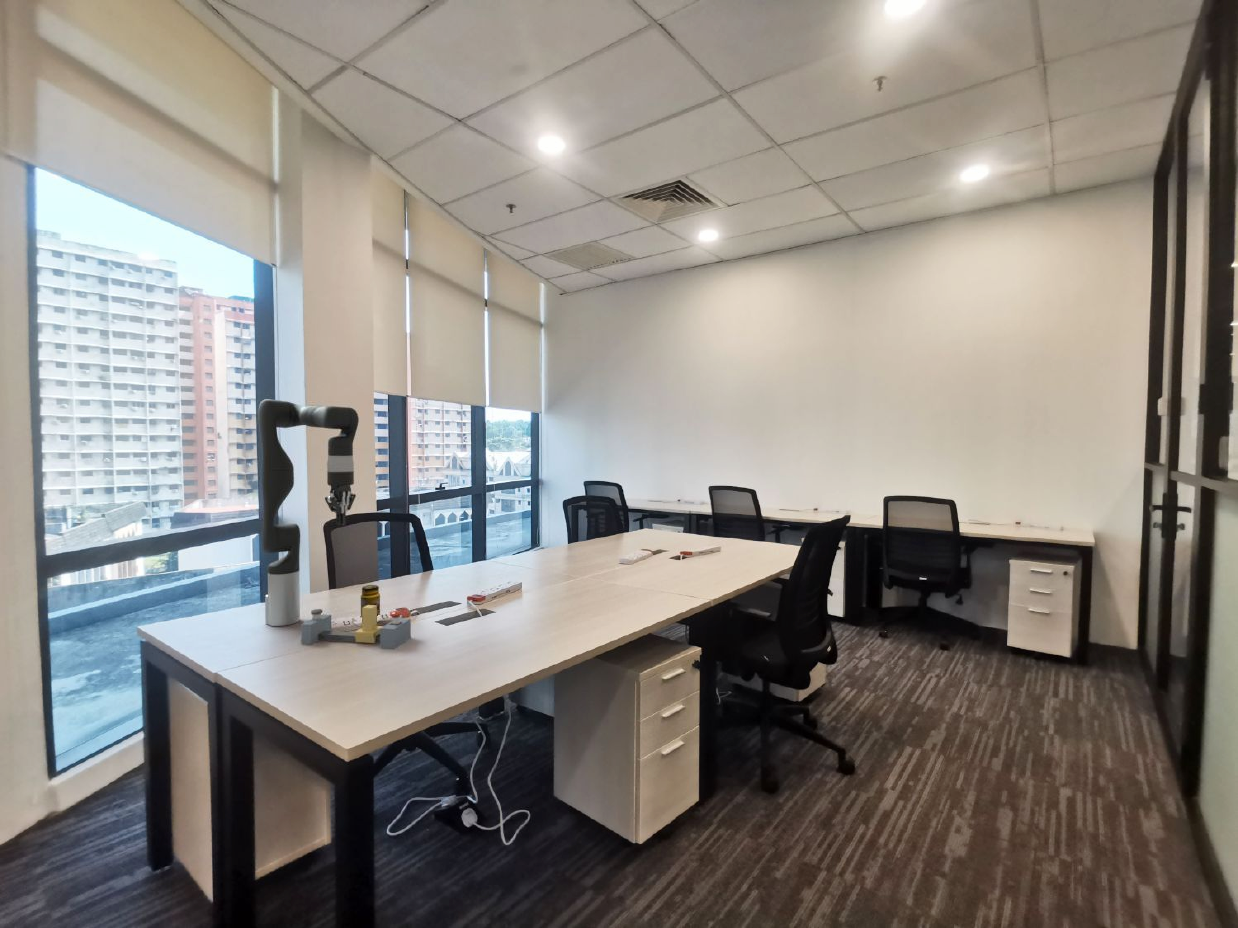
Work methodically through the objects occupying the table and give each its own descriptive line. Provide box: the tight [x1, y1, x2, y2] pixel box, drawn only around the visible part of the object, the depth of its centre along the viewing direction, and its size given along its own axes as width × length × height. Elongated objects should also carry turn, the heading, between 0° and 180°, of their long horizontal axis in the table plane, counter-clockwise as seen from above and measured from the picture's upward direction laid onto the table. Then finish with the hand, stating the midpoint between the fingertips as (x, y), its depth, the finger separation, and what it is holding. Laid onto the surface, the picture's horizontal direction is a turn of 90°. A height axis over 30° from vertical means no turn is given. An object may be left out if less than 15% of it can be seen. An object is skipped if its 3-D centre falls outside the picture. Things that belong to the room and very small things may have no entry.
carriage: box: [354, 605, 383, 644], centre depth 172 cm, size 6×6×10 cm
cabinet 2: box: [379, 617, 412, 650], centre depth 171 cm, size 4×10×6 cm, turn 173°
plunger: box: [389, 610, 402, 625], centre depth 171 cm, size 3×3×6 cm
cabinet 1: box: [300, 608, 332, 645], centre depth 174 cm, size 3×10×9 cm, turn 173°
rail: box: [318, 630, 380, 645], centre depth 172 cm, size 22×3×2 cm, turn 83°
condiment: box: [360, 584, 381, 618], centre depth 191 cm, size 7×8×12 cm
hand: (341, 524), depth 177 cm, fingers closed
